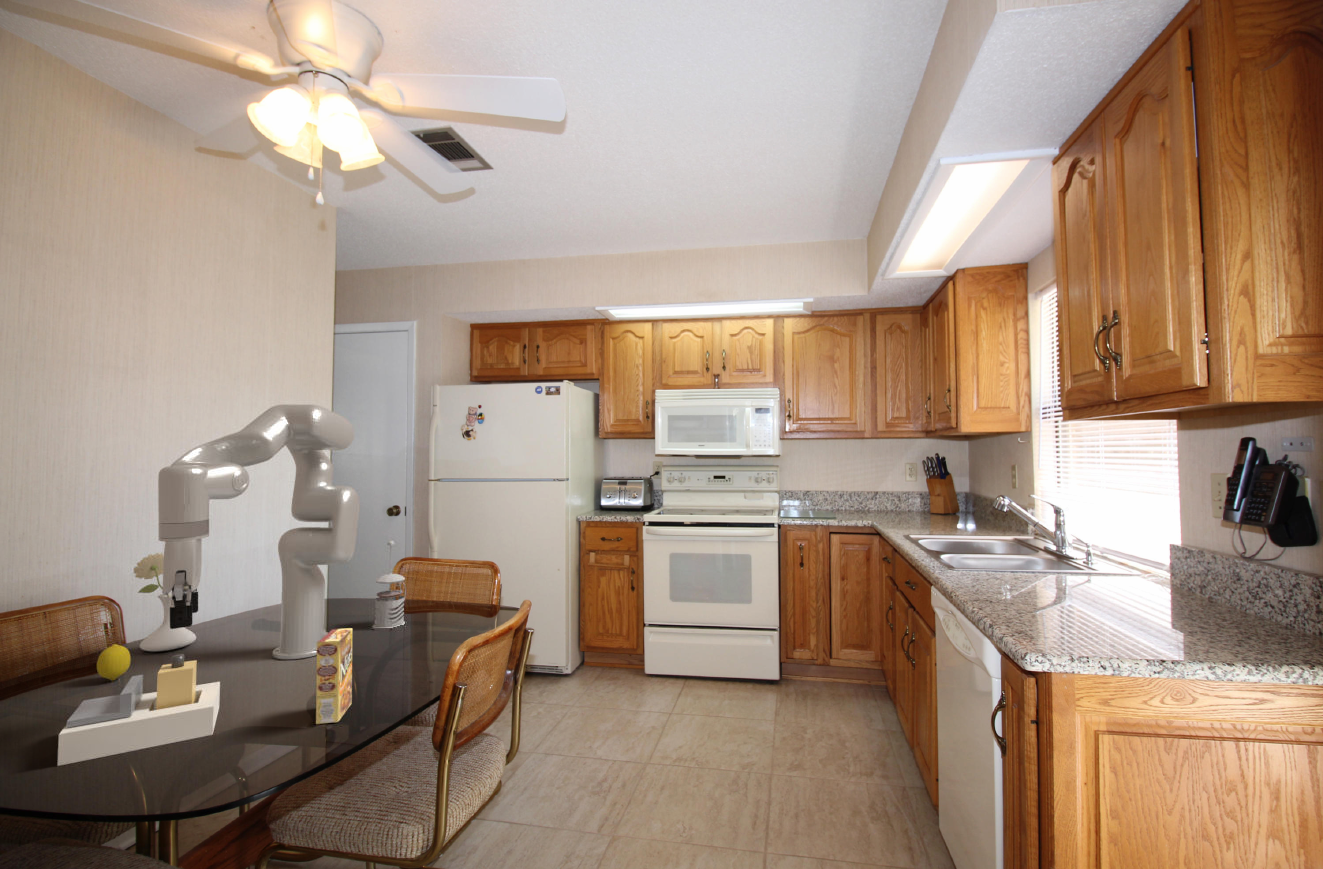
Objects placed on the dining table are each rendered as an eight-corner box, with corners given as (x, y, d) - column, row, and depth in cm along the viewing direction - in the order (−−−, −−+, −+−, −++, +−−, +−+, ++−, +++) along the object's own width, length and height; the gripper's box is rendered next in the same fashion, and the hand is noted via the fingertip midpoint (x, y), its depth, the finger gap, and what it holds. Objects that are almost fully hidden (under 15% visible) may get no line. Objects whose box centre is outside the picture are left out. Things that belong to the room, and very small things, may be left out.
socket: (219, 706, 118) (220, 681, 118) (212, 734, 106) (213, 706, 106) (81, 732, 107) (82, 704, 107) (57, 765, 95) (58, 734, 96)
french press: (363, 630, 171) (365, 542, 172) (388, 619, 182) (389, 537, 183) (394, 631, 169) (396, 543, 170) (417, 620, 180) (419, 538, 181)
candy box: (339, 723, 111) (340, 640, 112) (314, 725, 110) (316, 641, 111) (352, 703, 120) (354, 627, 120) (329, 705, 119) (331, 628, 119)
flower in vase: (193, 638, 162) (196, 546, 163) (199, 648, 154) (202, 551, 155) (129, 649, 153) (132, 552, 154) (131, 660, 145) (135, 557, 146)
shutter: (142, 696, 110) (142, 674, 110) (130, 716, 102) (131, 692, 102) (83, 706, 106) (84, 683, 106) (66, 727, 98) (67, 703, 98)
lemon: (109, 686, 129) (110, 649, 129) (89, 684, 130) (90, 647, 130) (136, 677, 134) (137, 641, 134) (116, 675, 135) (118, 639, 135)
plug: (194, 713, 112) (197, 649, 113) (191, 723, 108) (193, 657, 109) (160, 719, 110) (163, 654, 110) (155, 730, 106) (158, 662, 106)
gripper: (165, 525, 118) (166, 611, 118) (150, 539, 103) (150, 637, 103) (213, 522, 122) (213, 605, 122) (204, 535, 107) (204, 629, 108)
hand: (184, 620), depth 113 cm, fingers open, 9 cm apart
